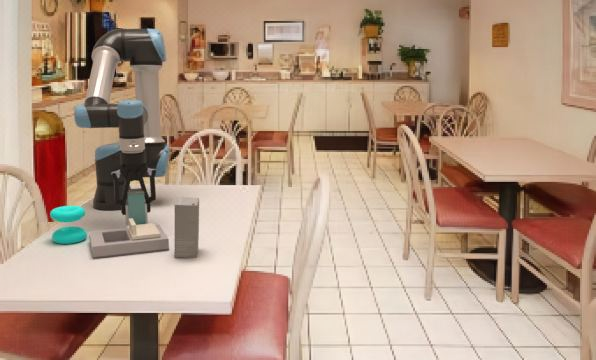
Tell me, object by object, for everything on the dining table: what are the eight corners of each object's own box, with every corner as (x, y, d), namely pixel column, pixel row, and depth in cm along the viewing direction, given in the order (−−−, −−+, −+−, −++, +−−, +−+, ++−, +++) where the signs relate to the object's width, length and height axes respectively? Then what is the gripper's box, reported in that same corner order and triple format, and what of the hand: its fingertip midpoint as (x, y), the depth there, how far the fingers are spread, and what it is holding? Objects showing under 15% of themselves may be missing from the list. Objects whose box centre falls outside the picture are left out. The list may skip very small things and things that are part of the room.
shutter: (127, 228, 189) (126, 216, 188) (153, 226, 191) (153, 213, 191) (132, 239, 178) (131, 226, 177) (160, 236, 180) (159, 223, 180)
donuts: (70, 203, 194) (91, 207, 189) (72, 233, 196) (93, 238, 191) (42, 209, 186) (64, 214, 181) (45, 241, 188) (66, 247, 183)
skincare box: (176, 249, 181) (174, 196, 178) (201, 248, 182) (199, 196, 178) (173, 258, 173) (171, 203, 170) (199, 258, 173) (197, 203, 170)
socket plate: (89, 242, 187) (88, 231, 186) (159, 235, 195) (159, 224, 194) (93, 258, 173) (92, 246, 172) (168, 250, 180) (168, 238, 179)
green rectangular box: (127, 225, 198) (125, 189, 195) (143, 224, 199) (141, 188, 197) (129, 230, 193) (127, 193, 190) (146, 228, 195) (144, 191, 192)
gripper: (103, 155, 184) (108, 229, 189) (164, 151, 190) (167, 223, 196) (101, 150, 191) (106, 223, 196) (160, 147, 197) (163, 217, 203)
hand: (136, 223), depth 196 cm, fingers closed on green rectangular box, 5 cm apart
